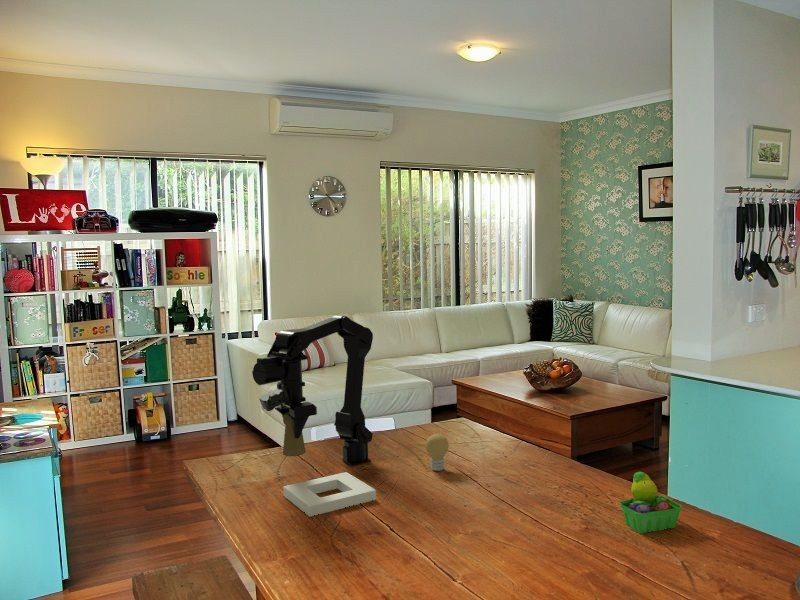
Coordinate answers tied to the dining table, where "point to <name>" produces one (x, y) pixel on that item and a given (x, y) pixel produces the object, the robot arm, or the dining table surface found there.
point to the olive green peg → (292, 439)
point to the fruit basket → (649, 507)
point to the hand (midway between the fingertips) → (293, 436)
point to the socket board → (314, 505)
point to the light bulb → (437, 450)
